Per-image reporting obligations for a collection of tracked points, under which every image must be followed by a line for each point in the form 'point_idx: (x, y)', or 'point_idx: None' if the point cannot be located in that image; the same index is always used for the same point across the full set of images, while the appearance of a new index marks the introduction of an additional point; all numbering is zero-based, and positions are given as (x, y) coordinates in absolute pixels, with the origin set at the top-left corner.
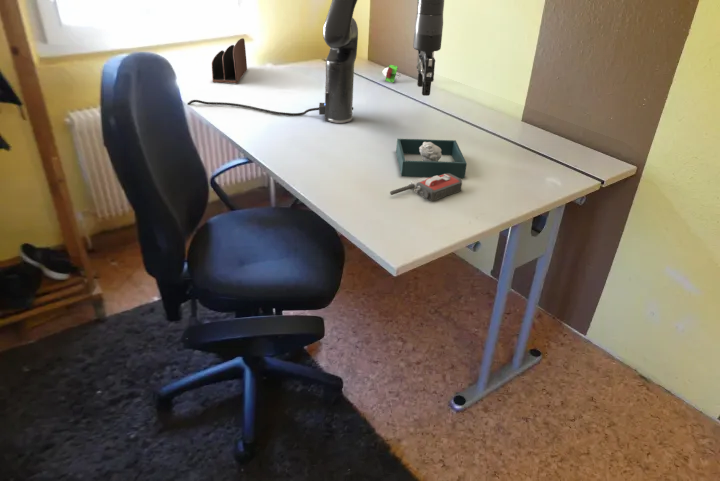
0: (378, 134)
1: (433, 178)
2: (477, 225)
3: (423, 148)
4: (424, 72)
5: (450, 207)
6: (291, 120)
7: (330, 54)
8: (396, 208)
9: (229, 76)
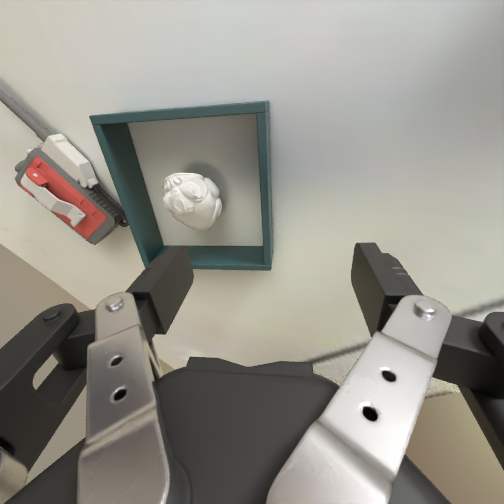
0: (444, 24)
1: (36, 190)
2: (5, 237)
3: (168, 185)
4: (20, 363)
5: (35, 207)
6: None
7: None
8: None
9: None
